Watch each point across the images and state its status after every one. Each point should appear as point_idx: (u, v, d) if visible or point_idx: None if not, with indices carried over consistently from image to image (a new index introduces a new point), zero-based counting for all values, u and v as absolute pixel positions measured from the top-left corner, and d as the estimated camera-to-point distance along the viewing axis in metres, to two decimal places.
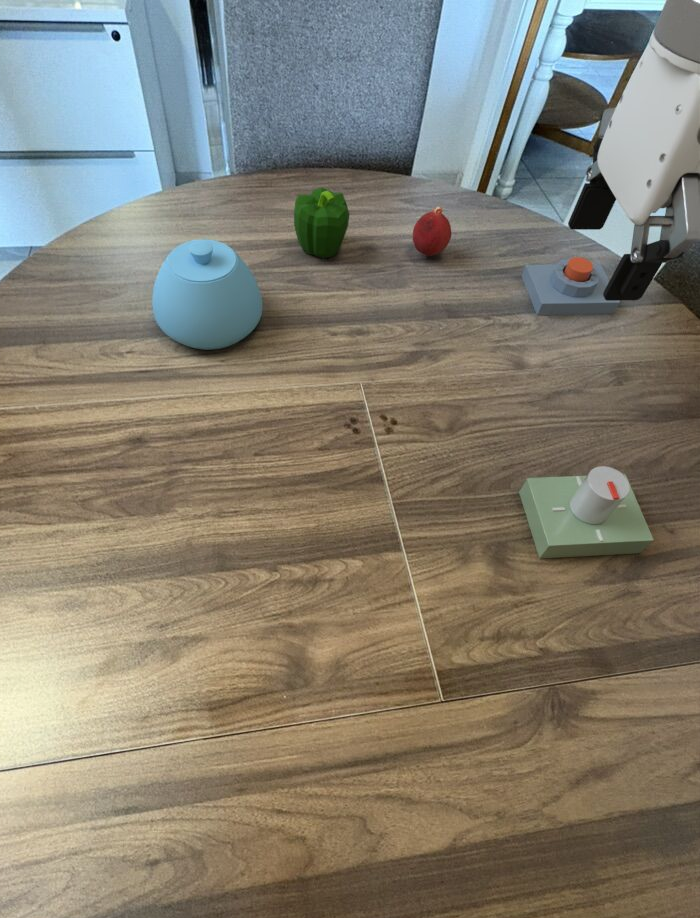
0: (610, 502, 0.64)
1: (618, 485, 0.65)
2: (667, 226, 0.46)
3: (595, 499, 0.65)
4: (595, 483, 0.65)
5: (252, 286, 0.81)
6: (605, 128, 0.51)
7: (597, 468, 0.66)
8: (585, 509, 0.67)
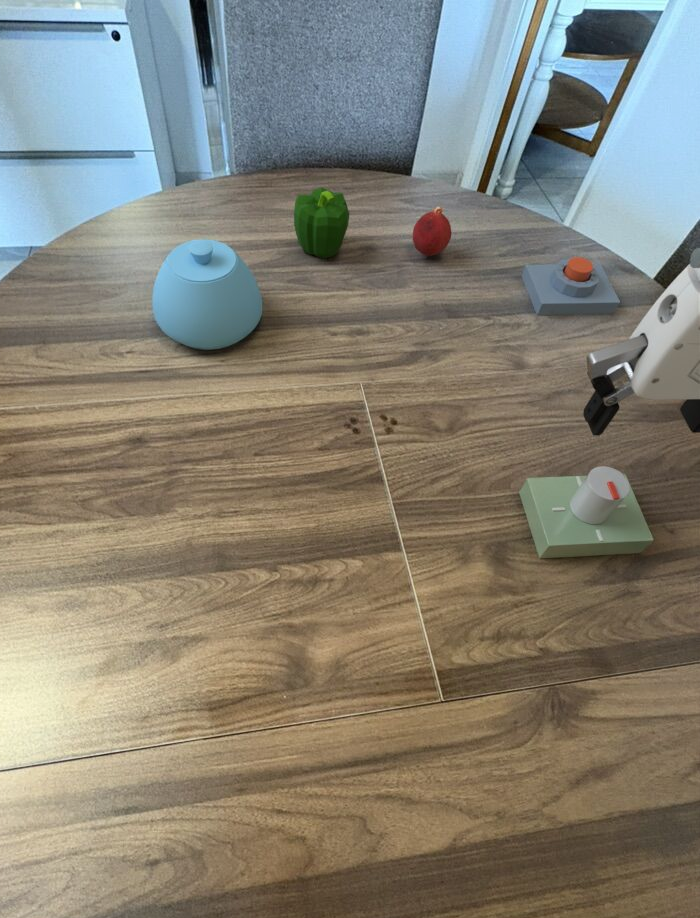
0: (610, 502, 0.64)
1: (618, 485, 0.65)
2: (630, 383, 0.52)
3: (595, 499, 0.65)
4: (595, 483, 0.65)
5: (252, 286, 0.81)
6: None
7: (597, 468, 0.66)
8: (585, 509, 0.67)
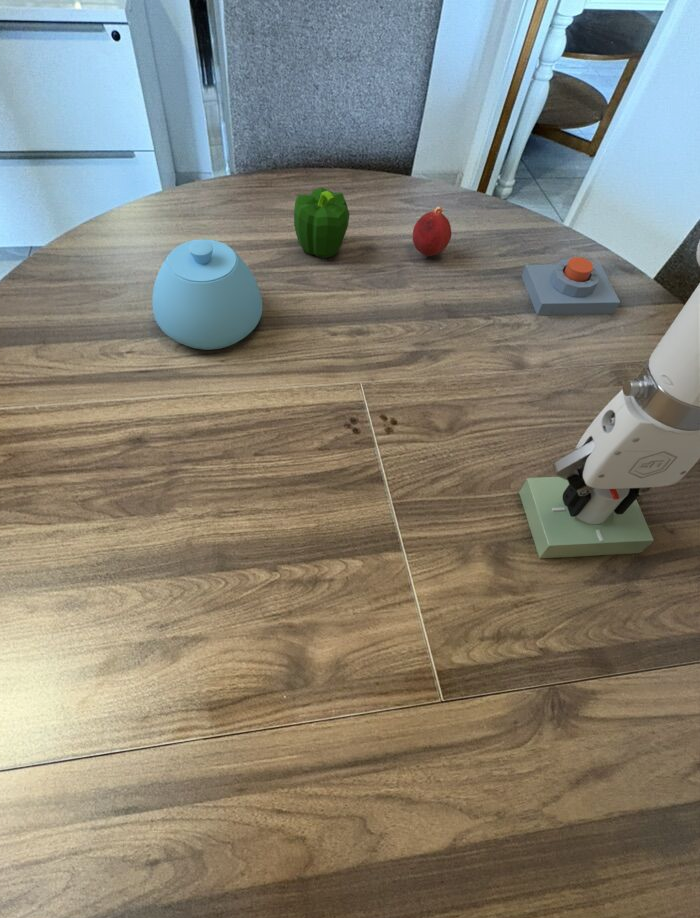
0: (610, 502, 0.64)
1: None
2: None
3: (595, 499, 0.65)
4: None
5: (252, 286, 0.81)
6: None
7: None
8: (585, 509, 0.67)
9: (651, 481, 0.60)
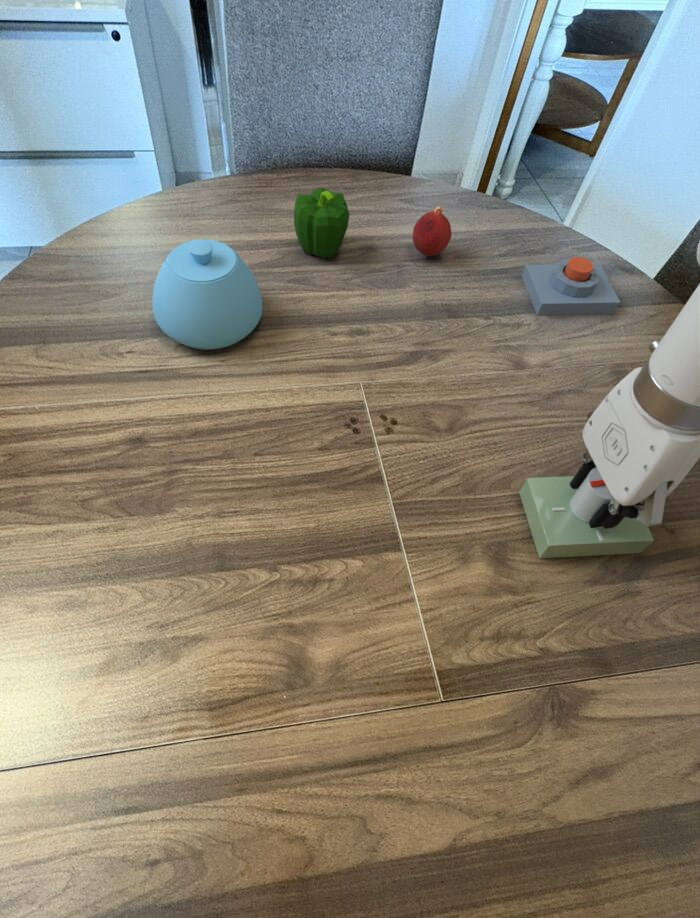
0: (586, 485, 0.65)
1: None
2: None
3: None
4: None
5: (252, 286, 0.81)
6: None
7: None
8: (579, 487, 0.68)
9: (608, 473, 0.60)
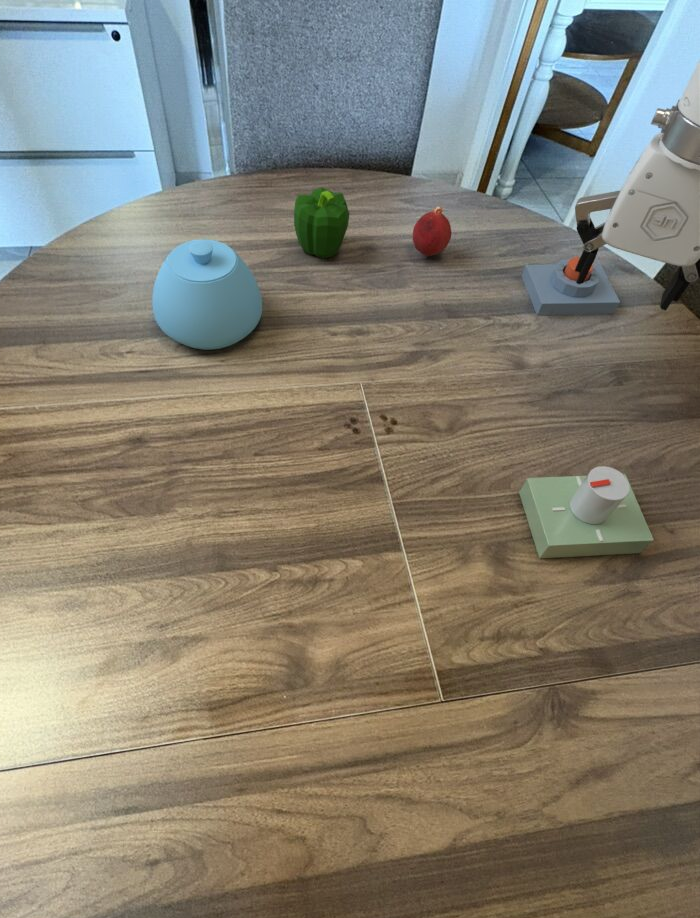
0: (586, 486, 0.65)
1: (609, 490, 0.64)
2: None
3: None
4: (602, 471, 0.66)
5: (252, 286, 0.81)
6: None
7: (622, 475, 0.66)
8: None
9: (664, 250, 0.64)
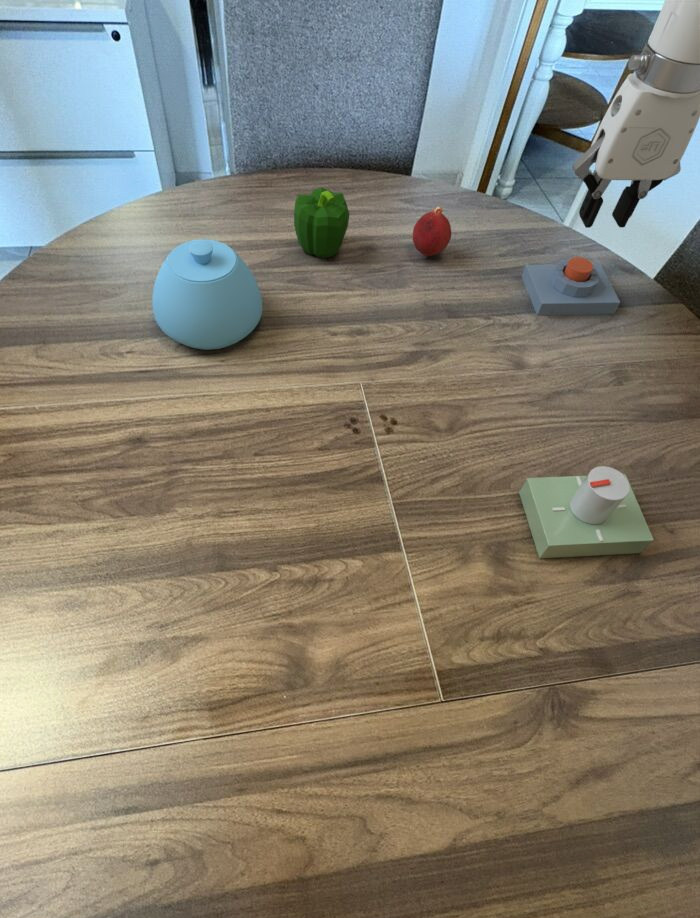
0: (586, 486, 0.65)
1: (609, 490, 0.64)
2: None
3: None
4: (602, 471, 0.66)
5: (252, 286, 0.81)
6: None
7: (622, 475, 0.66)
8: None
9: (650, 170, 0.75)
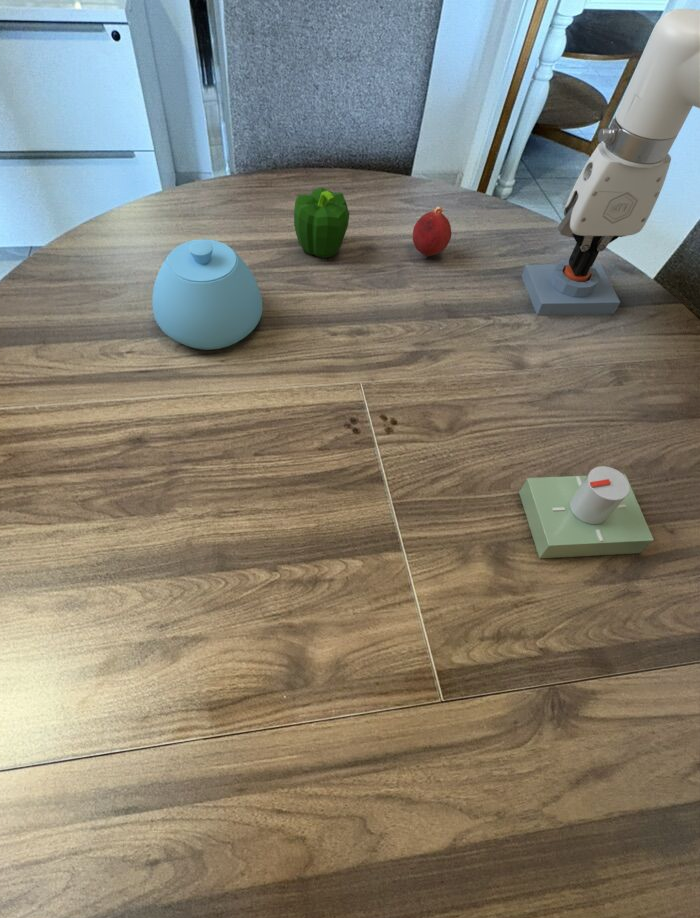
0: (586, 486, 0.65)
1: (609, 490, 0.64)
2: None
3: None
4: (602, 471, 0.66)
5: (252, 286, 0.81)
6: None
7: (622, 475, 0.66)
8: None
9: (620, 227, 0.81)
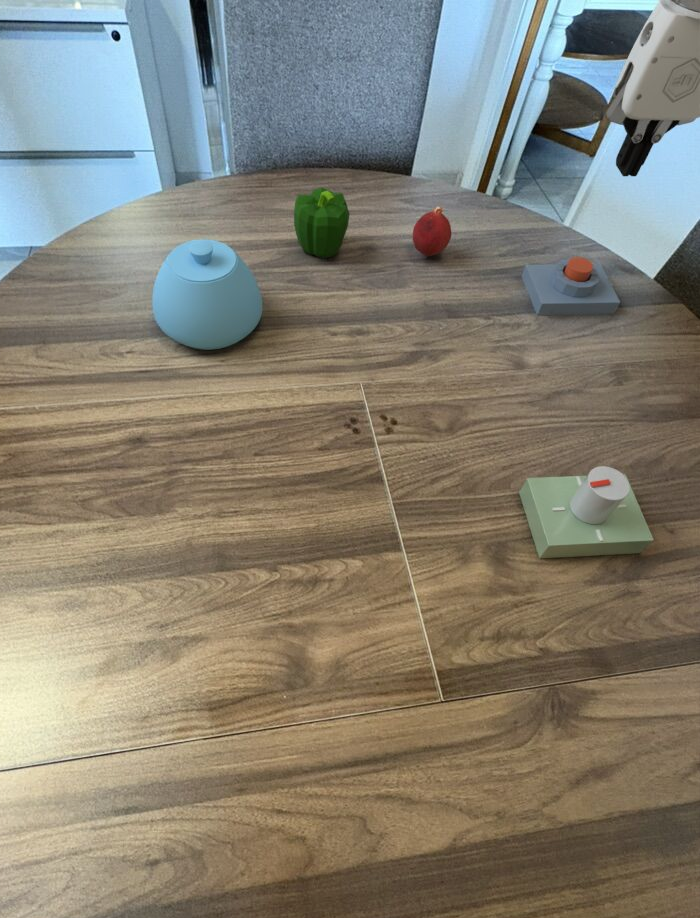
0: (586, 486, 0.65)
1: (609, 490, 0.64)
2: None
3: None
4: (602, 471, 0.66)
5: (252, 286, 0.81)
6: None
7: (622, 475, 0.66)
8: None
9: (681, 108, 0.69)
